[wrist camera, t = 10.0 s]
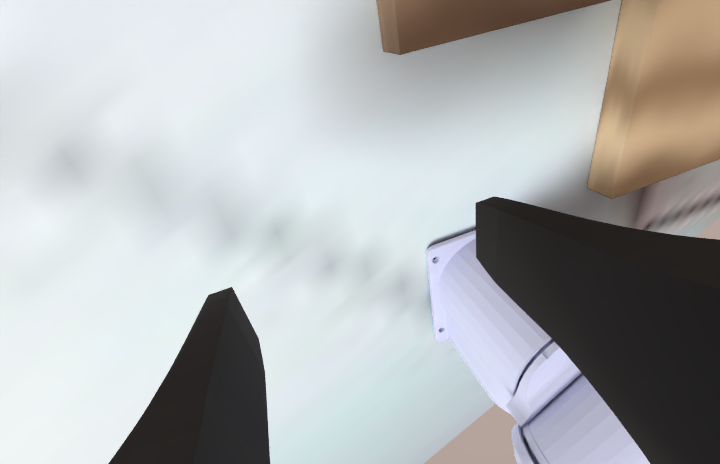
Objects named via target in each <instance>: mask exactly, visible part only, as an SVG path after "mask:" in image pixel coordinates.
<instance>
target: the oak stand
mask: <svg viewBox="0 0 720 464" xmlns="http://www.w3.org/2000/svg"><path fill="white" fill-rule="evenodd" d="M718 159H720V0H622V5H621V10H620V15H619V21H618V26H617V31H616V37H615V42H614V47H613V52H612V58H611V63H610V68H609V74H608V79H607V84H606V90H605V95H604V100H603V105H602V111H601V116H600V121H599V127H598V132H597V137H596V142H595V148H594V153H593V158H592V164H591V169H590V174H589V179H588V185H587V188H589V189H591V190H593V191H595V192H598V193H600V194H602V195H604V196H606V197H608V198H611V199H613V198H615V197H618V196H621V195H623V194H626V193H629V192H632V191H634V190H637V189H640V188H642V187H645V186H648V185H651V184H653V183H656V182H659V181H661V180H664V179H667V178H670V177H672V176H675V175H678V174H680V173H683V172H686V171H689V170H691V169H694V168H697V167H699V166H702V165H705V164H708V163H710V162H713V161H716V160H718Z"/></svg>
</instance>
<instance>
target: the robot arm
mask: <svg viewBox="0 0 720 464" xmlns="http://www.w3.org/2000/svg"><path fill="white" fill-rule="evenodd" d="M435 257H436V258H435ZM426 258H427V268H428V278H429V287H430V297H431V307H432V317H433V326H434V336H435V339H436V341H437V342H438V343H442V342H444V341H447V340H450V341H451V343H452V344H453V345H454V347H455V348H456V350H457V351H458V353H459V354H460V355H461V357H462V358H463V360H464V361H465V363H466V364H467V365H468V367H469V368H470V370H471V371H472V373H473V374H474V375H475V377H476V378H477V380H478V381H479V383H480V384H481V385H482V387H483V388H484V390H485V391H486V393H487V394H488V395H489V397H490V398H491V399H492V400H493V401H494V403H496V404H497V405H498V406H499V407H500V408H502V409H503V410H504V411H506V412H508V413H510V414H512V416H513V417H514V418H515V420H516V421H517V422H518V423H517V424H516V425H515V426H514V427H513V429H512V432H511V436H512V443H513V447H514V454H515V458H516V461H517V463H518V464H720V240H716V239H706V238H695V237H687V236H679V235H671V234H665V233H658V232H651V231H645V230H638V229H633V228H627V227H622V226H617V225H612V224H608V223H603V222H598V221H593V220H589V219H585V218H580V217H576V216H572V215H568V214H564V213H560V212H556V211H552V210H549V209H545V208H541V207H537V206H533V205H529V204H525V203H521V202H517V201H513V200H509V199H504V198H499V197H492V198H489V199H486V200H483V201H480V202H477V203H476V230H474V231H471V232H469V233H466V234H463V235H460V236H457V237H455V238H452V239H449V240H446V241H443V242H441V243H438V244H435V245H432V246H430V247H429V248H428V249H427V251H426ZM433 258H435V259H434V260H433ZM109 464H270V456H269V437H268V419H267V400H266V383H265V371H264V365H263V359H262V354H261V349H260V344H259V338H258V337H257V335H256V333H255V331H254V329H253V327H252V325H251V323H250V321H249V319H248V317H247V315H246V313H245V311H244V310H243V308H242V306H241V304H240V302H239V300H238V298H237V296H236V294H235V292H234V290H233V288H232V287H231V288H228V289H225V290H222V291H219V292H216V293H213V294H210V295H208V297H207V299H206V301H205V303H204V305H203V307H202V309H201V311H200V313H199V315H198V317H197V319H196V321H195V323H194V325H193V327H192V329H191V331H190V333H189V335H188V337H187V338H186V340H185V342H184V344H183V346H182V348H181V350H180V352H179V354H178V355H177V357H176V359H175V361H174V363H173V365H172V367H171V368H170V370H169V372H168V374H167V375H166V377H165V379H164V381H163V382H162V384H161V386H160V387H159V389H158V391H157V392H156V394H155V396H154V397H153V399H152V401H151V402H150V404H149V406H148V407H147V409H146V410H145V412H144V414H143V415H142V417H141V418H140V420H139V421H138V423H137V424H136V426H135V427H134V429H133V430H132V431H131V433H130V434H129V436H128V437H127V439H126V440H125V441H124V443H123V444H122V446H121V447H120V449H119V450H118V451H117V453H116V454H115V456H114V457H113V458H112V460H111V461H110V462H109Z"/></svg>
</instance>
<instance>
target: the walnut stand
mask: <svg viewBox="0 0 720 464" xmlns="http://www.w3.org/2000/svg"><path fill="white" fill-rule="evenodd" d="M606 1H610V0H377V7H378V15H379V22H380V30H381V37H382V45H383V51H384V52H389V53H394V54H399V55H401V54H405V53H409V52H412V51H416V50H420V49H424V48H428V47H432V46H436V45H440V44H443V43H447V42H451V41H455V40H459V39H463V38H467V37H470V36H474V35H478V34H482V33H486V32H490V31H494V30H498V29H501V28H505V27H509V26H513V25H517V24H521V23H525V22H528V21H532V20H536V19H540V18H544V17H548V16H552V15H556V14H559V13H563V12H567V11H571V10H575V9H579V8H583V7H586V6H590V5H594V4H598V3H602V2H606Z"/></svg>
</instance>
